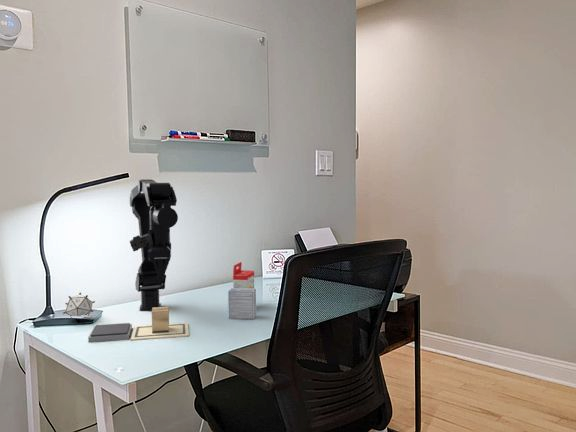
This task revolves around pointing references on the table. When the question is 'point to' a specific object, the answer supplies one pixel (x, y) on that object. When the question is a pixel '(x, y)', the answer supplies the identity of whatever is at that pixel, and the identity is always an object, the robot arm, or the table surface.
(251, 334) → the table surface
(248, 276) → the ink box
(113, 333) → the ink pad
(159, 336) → the card sheet
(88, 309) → the game die
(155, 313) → the stamp
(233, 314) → the medicine box
